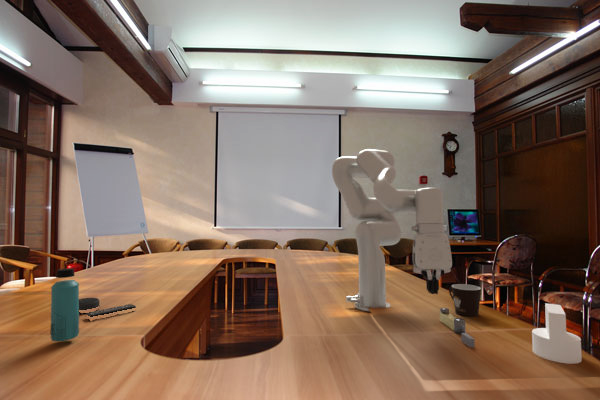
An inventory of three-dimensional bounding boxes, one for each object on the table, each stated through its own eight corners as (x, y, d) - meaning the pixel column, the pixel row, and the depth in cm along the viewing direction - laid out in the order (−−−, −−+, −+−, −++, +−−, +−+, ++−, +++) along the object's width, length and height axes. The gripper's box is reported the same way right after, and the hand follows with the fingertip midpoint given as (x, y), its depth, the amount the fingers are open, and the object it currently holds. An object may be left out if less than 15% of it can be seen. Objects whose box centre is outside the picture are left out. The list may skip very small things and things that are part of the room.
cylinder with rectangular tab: (585, 373, 71) (583, 316, 71) (534, 364, 76) (532, 310, 76) (578, 358, 78) (576, 306, 79) (531, 350, 83) (530, 301, 84)
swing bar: (467, 334, 90) (467, 320, 90) (457, 334, 90) (456, 320, 90) (447, 320, 102) (447, 307, 102) (438, 320, 102) (438, 307, 102)
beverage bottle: (84, 339, 92) (86, 267, 93) (60, 349, 86) (62, 271, 87) (68, 337, 94) (69, 266, 95) (43, 346, 88) (44, 270, 89)
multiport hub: (136, 312, 119) (136, 305, 119) (90, 322, 108) (90, 315, 108) (130, 310, 122) (131, 303, 122) (85, 319, 111) (85, 312, 111)
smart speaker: (89, 315, 115) (89, 303, 116) (63, 315, 116) (64, 303, 116) (104, 307, 124) (104, 297, 124) (81, 307, 124) (81, 297, 125)
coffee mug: (485, 323, 103) (484, 290, 104) (456, 321, 105) (455, 289, 105) (474, 312, 115) (473, 282, 115) (447, 310, 116) (446, 282, 117)
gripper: (409, 230, 94) (412, 296, 93) (461, 229, 94) (464, 295, 93) (400, 230, 102) (403, 291, 100) (449, 229, 102) (452, 289, 101)
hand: (432, 292), depth 97 cm, fingers closed
